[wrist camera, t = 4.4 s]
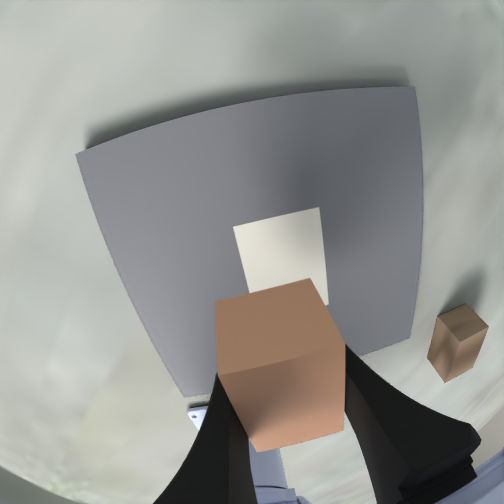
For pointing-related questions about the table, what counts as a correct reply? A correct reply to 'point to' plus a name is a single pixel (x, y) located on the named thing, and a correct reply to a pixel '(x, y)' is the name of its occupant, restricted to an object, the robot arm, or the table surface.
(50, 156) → the table surface
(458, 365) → the brick walnut
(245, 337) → the brick terracotta
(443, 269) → the table surface
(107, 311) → the table surface
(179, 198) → the tower board
